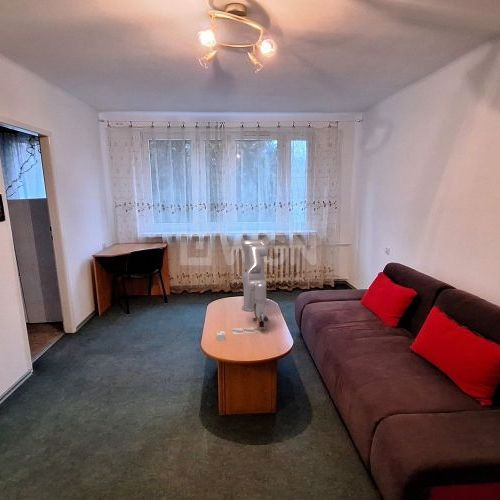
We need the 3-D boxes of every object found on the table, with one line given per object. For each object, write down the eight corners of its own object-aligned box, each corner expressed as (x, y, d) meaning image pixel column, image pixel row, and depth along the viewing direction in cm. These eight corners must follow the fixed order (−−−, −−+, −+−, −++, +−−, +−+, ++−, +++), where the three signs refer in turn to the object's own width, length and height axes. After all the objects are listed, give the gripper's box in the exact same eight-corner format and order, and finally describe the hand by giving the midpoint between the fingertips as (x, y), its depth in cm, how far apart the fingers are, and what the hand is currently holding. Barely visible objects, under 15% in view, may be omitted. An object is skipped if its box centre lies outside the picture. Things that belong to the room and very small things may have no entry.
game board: (230, 329, 227) (230, 328, 227) (265, 326, 231) (265, 325, 231) (231, 336, 217) (231, 335, 216) (268, 333, 220) (268, 332, 220)
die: (217, 338, 213) (216, 331, 212) (224, 338, 214) (224, 331, 213) (217, 342, 209) (217, 335, 208) (225, 341, 209) (224, 334, 208)
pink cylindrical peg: (256, 328, 226) (256, 313, 224) (263, 327, 227) (262, 312, 224) (257, 331, 222) (257, 315, 220) (264, 330, 223) (263, 315, 220)
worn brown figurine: (253, 325, 239) (248, 303, 235) (253, 322, 244) (248, 300, 240) (269, 321, 240) (264, 299, 235) (268, 318, 245) (263, 297, 241)
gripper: (253, 296, 228) (253, 319, 232) (257, 305, 211) (257, 329, 215) (263, 296, 229) (263, 318, 233) (268, 304, 212) (268, 329, 216)
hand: (260, 323), depth 224 cm, fingers open, 9 cm apart
